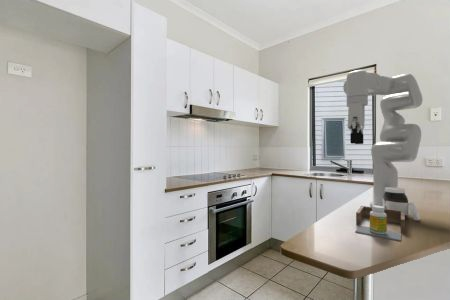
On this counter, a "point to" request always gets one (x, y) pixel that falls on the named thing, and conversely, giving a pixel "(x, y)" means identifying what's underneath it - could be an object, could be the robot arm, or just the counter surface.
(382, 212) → the supplement bottle
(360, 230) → the slate mat
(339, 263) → the counter surface
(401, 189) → the spread jar
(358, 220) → the open front box
